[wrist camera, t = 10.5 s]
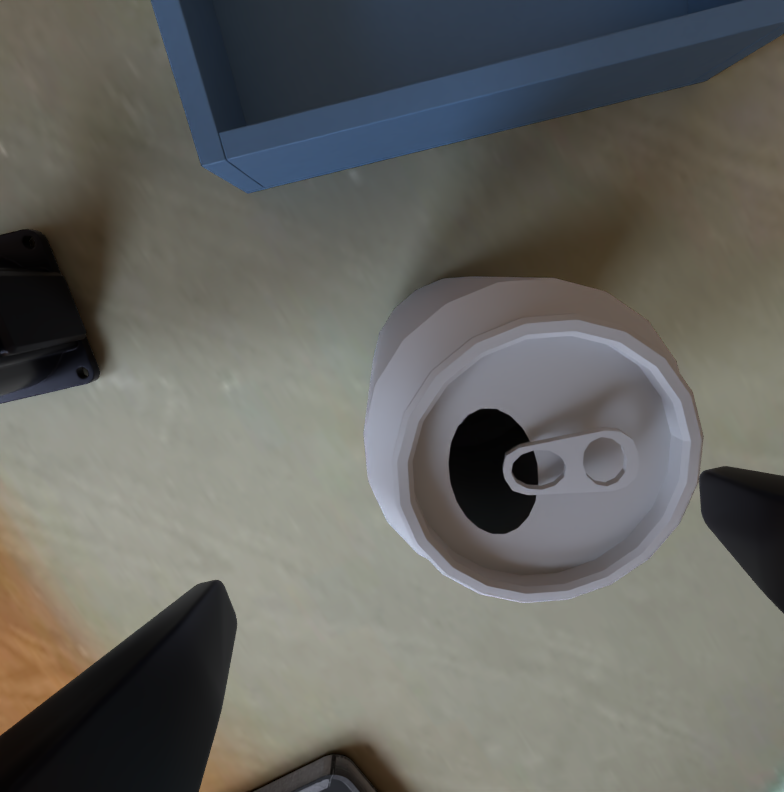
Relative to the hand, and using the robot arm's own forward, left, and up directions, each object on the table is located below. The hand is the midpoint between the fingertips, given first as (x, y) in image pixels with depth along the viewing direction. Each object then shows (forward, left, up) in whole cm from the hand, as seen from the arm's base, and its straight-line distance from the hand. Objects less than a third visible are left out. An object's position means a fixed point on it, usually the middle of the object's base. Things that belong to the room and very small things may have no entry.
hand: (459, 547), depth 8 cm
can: (+2, +1, -13) cm, 13 cm away
